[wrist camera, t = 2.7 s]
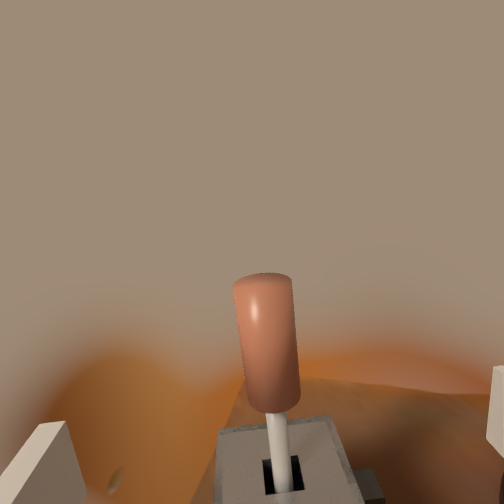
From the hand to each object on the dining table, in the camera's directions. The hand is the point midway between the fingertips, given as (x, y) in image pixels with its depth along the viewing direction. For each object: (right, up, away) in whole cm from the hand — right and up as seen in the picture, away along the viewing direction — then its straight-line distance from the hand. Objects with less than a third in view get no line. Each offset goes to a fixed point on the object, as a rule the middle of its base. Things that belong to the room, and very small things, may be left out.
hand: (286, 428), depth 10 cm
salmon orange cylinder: (+2, -19, +16) cm, 25 cm away
